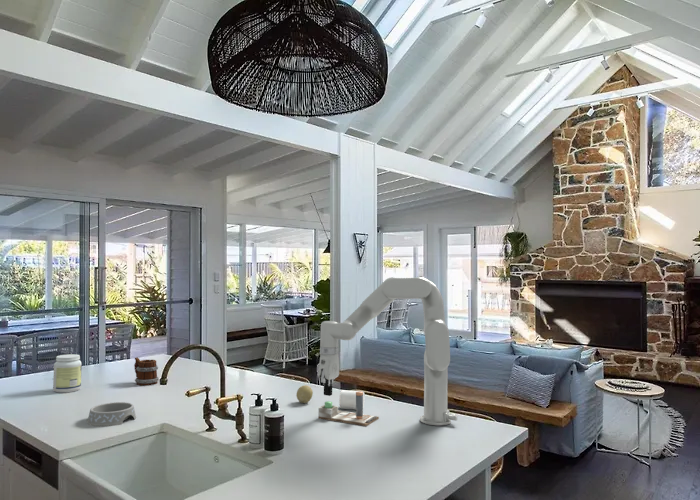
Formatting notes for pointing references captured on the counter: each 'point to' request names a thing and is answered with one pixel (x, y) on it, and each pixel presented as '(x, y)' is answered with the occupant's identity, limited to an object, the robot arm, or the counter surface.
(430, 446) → the counter surface
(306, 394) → the potato
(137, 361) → the mug
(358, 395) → the cylinder
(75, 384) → the supplement tub
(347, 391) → the mug
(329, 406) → the button
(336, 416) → the cream tray
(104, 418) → the dog bowl
